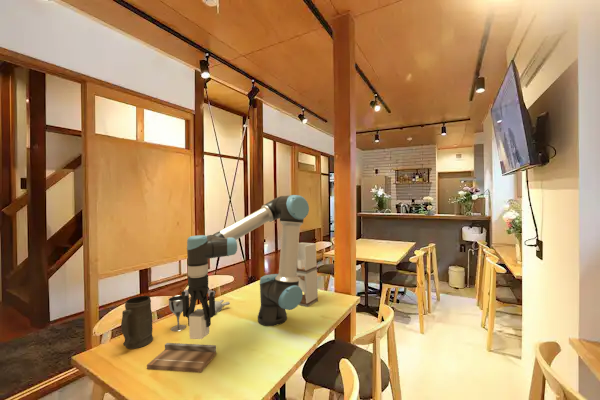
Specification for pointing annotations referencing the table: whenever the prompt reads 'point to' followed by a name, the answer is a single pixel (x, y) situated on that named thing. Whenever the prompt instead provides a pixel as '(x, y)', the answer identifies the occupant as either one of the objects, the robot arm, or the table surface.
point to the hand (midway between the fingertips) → (199, 334)
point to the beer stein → (137, 322)
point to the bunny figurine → (220, 305)
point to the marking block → (196, 324)
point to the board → (183, 357)
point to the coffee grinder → (307, 273)
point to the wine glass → (177, 310)
